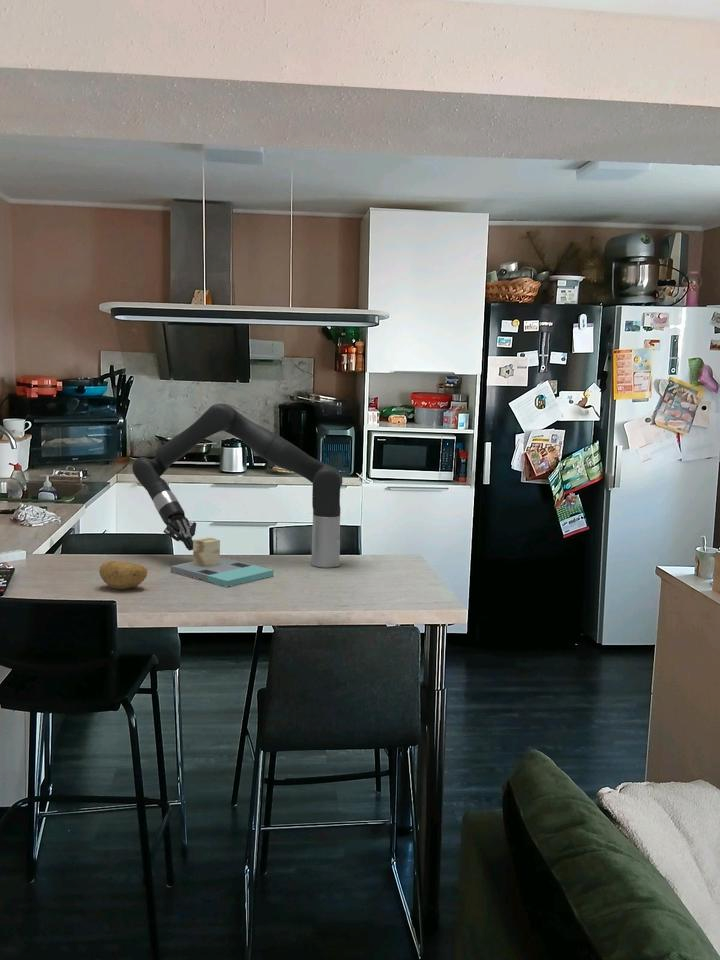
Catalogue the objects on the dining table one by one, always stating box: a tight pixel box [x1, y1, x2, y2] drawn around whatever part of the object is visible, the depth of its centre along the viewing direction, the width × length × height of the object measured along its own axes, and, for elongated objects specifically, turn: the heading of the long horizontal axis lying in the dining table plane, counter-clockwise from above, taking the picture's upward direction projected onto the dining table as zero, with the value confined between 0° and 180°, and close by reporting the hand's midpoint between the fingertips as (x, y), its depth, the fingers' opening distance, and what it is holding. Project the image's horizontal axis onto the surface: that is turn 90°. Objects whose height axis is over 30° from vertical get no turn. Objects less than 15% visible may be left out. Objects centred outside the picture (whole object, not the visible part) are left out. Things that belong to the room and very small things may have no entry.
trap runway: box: [170, 556, 275, 588], centre depth 277 cm, size 26×20×2 cm
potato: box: [98, 560, 148, 590], centre depth 256 cm, size 10×14×8 cm
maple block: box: [192, 536, 221, 567], centre depth 281 cm, size 6×6×8 cm
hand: (192, 548), depth 285 cm, fingers closed
